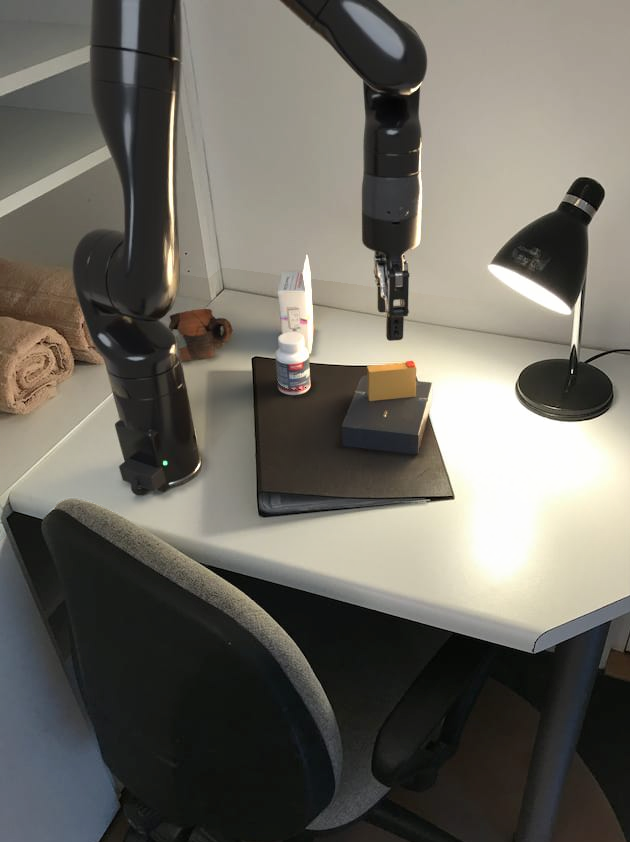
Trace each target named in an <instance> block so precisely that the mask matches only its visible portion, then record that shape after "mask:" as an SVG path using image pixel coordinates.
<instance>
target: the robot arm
mask: <svg viewBox="0 0 630 842" xmlns="http://www.w3.org/2000/svg"><path fill="white" fill-rule="evenodd" d="M278 1H279V2H280V3H281V4H283V6H285V8H287V9H288V10H289V11H290V12H291V13H292V14H293V15H295V17H297V18H298V19H299V20H300V21H301V22H302V23H304V25H306V27H309V29H310V30H311V31H312V32H314V33H315V34H316V35H318V36H319V37H320V38H321V39H323V40H324V41H325V42H326V43H328V44H329V45H330V46H331V47H332V48H333V49H334V51H335V52H336V54H338V55H339V56H340V57H341V58H342V60H343V61H344V62H345V63H346V65H348V66H349V67H350V69H352V71H353V72H354V73H355V74H356V75H357V76H358V77H359V78H360V79H361V80H362V87H363V104H364V129H363V139H362V140H363V143H362V147H363V148H362V153H363V155H362V156H363V157H362V158H363V159H362V161H363V162H362V163H363V165H362V167H363V171H362V173H363V174H362V182H361V241H362V244H363V246H364V247H365V248H367V249H368V250H370V251H373V252H374V256H373V264H374V267H373V274H374V281H375V284H376V286H377V311H378V312H379V313H385V314H386V315H385V316H386V317H385V320H386V321H385V336H386V339H387V340H388V341H389V342H392V341H401V340H403V338H404V324H405V323H404V321H405V319H404V318H405V317H408V316H409V314H410V310H409V291H410V289H409V286H410V284H409V283H410V281H409V280H410V271H409V264H408V263H409V262H408V260H406V259H405V258H406V257H405V254H406V253H407V252H409V251H412V250H414V249H416V248H417V247H418V246H419V245H420V243H421V233H422V232H421V231H422V207H423V182H422V152H423V151H422V149H423V148H422V147H423V132H422V126H421V125H422V124H421V120H420V99H421V85H422V83H423V82H424V79H425V77H426V75H427V72H428V71H427V70H428V54H427V50H426V46H425V44H424V42H423V40H422V39H421V36H420V35H419V34H418V32H417V30H416V29H415V28H414V27H413V26H412V25H411V24H410V23H408V22H406V21H404V20H402V19H399V18H398V17H397V16H396V15H395V14H394V13H393V12H392V11H391V10H390V9H389V8H387V7H386V6H385V5H384V4H383V3H382V2H380V0H278ZM90 9H91V10H90V32H89V46H90V47H89V96H90V102H91V107H92V110H93V113H94V116H95V119H96V122H97V124H98V127H99V130H100V132H101V135H102V137H103V140H104V142H105V145H106V147H107V149H108V152H109V155H110V156H111V159H112V162H113V163H114V166H115V169H116V171H117V174H118V178H119V182H120V184H121V185H120V186H121V191H122V199H123V217H124V218H123V230H118V229H114V228H107V227H105V228H101V227H100V228H96V229H93V230H91V231H88V232H86V233H85V234H84V235H83V236H82V237H81V238H80V240H79V242H78V243H77V245H76V247H75V248H74V252H73V256H72V263H71V268H72V269H71V271H72V272H71V273H72V280H73V287H74V290H75V294H76V297H77V301H78V304H79V307H80V310H81V314H82V316H83V319H84V322H85V325H86V328H87V332H88V335H89V337H90V341H91V343H92V345H93V347H94V348H95V349H96V351H97V352H98V354H99V355H100V356H101V357H102V360H103V362H104V366H105V369H106V373H107V376H108V381H109V384H110V388H111V392H112V396H113V400H114V404H115V408H116V412H117V415H118V419H119V420H118V421H116V422H115V423H114V428H115V432H116V435H117V439H118V443H119V446H120V450H121V454H122V458H123V462H122V463H121V464H120V465H118V469H119V473H120V476H121V480H122V481H123V482H126V483H129V484H131V485H130V488H131V492H132V494H134V495H136V496H146V494H147V490H149V491H151V492H156V491H159V492H161V493H165V492H167V491H168V490H169V489H171V488H176V487H178V486H181V485H184V484H185V483H188V482H189V481H191V480H192V479H194V478H195V477H196V476H197V475H198V474H199V472H200V470H201V468H202V457H201V454H200V451H199V445H198V434H197V432H196V431H197V428H196V427H195V423H194V419H193V414H192V409H191V403H190V399H189V393H188V387H187V383H186V378H185V377H186V376H185V372H184V367H183V361H182V360H181V355H180V349H179V348H180V345H179V341H178V337H177V335H176V334H175V333H174V330H173V331H172V330H171V329H169V326H167V325H166V324H165V323H163V321H161V319H163V318H165V317H166V316H167V315H168V314H169V312H170V311H171V310H172V308H173V306H174V304H175V303H176V300H177V296H178V294H179V293H178V292H179V288H180V281H181V245H180V225H179V205H178V159H179V157H178V155H179V154H178V152H179V150H178V149H179V127H180V126H179V125H180V110H181V100H182V81H183V60H184V59H183V56H184V53H183V40H184V39H183V11H182V0H91V8H90ZM396 300H397V301H399V305H394V301H396ZM139 487H140V488H139Z"/></svg>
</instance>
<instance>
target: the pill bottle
mask: <svg viewBox="0 0 630 842" xmlns="http://www.w3.org/2000/svg"><path fill="white" fill-rule="evenodd" d="M277 345H278V348H277V349H276V351H275V354H274V357H275V370H276V382H277V381H278V383H279V384H280V385H281V386H283V387H285V388H287V389H293V390H295V389H296V390H297V391H288V390H284V389H282V388H280V387H279V386H278V385H277V389H278V390H279V392H281V393H282V394H284V395H287V396H298V395H302V394H305V393H307V392H309V390H310V388H311V371H310V354H309V353H308V350H307V349H306V348H305V347H304V337H303V335H302V334H300V333H297V332H287V333H283V334H282V333H281V334H280V335H278V337H277ZM278 383H277V384H278ZM305 387H306V388H305ZM298 389H301V390H298Z"/></svg>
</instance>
